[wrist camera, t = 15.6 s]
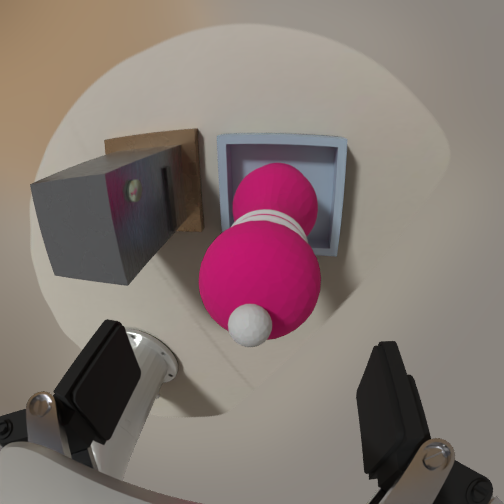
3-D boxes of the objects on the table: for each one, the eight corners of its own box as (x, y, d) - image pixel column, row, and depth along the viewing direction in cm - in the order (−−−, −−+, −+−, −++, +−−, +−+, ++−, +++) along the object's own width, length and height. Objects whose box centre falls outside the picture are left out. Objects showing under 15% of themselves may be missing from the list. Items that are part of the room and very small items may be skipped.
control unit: (204, 228, 32) (150, 305, 19) (121, 226, 33) (50, 288, 21) (197, 128, 27) (121, 147, 14) (109, 139, 28) (17, 168, 16)
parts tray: (333, 244, 30) (336, 256, 28) (228, 239, 32) (223, 250, 30) (342, 136, 25) (347, 139, 23) (223, 133, 27) (216, 135, 24)
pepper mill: (329, 189, 27) (381, 334, 10) (283, 239, 30) (261, 409, 13) (272, 142, 26) (221, 210, 8) (228, 197, 29) (133, 334, 12)
